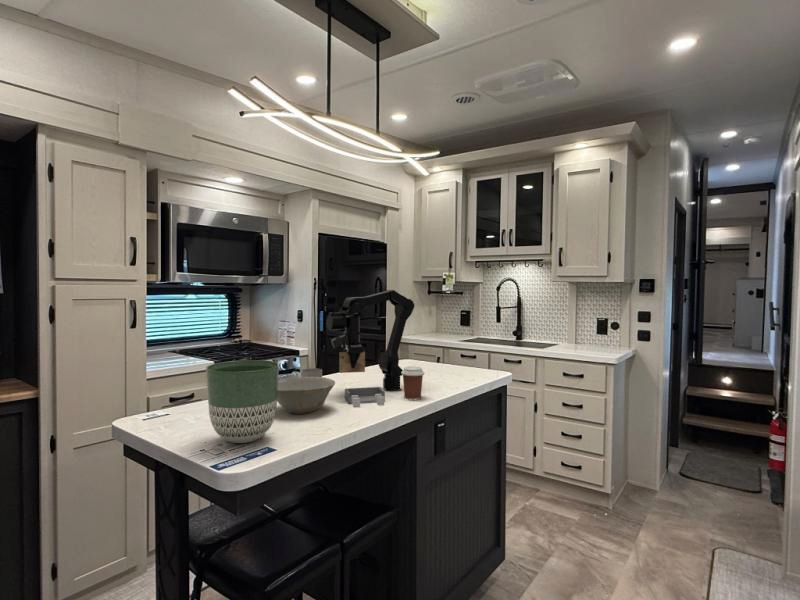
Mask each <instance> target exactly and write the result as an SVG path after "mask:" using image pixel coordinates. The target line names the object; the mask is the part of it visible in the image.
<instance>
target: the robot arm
mask: <svg viewBox="0 0 800 600" xmlns="http://www.w3.org/2000/svg"><path fill="white" fill-rule="evenodd" d="M384 302H389V303H390V304H391V305H393V306H394V310H393V311H394V316H395V317H394V318H395V319H394V322H393V326H392V329H391V333H390V336H389V340H388V343H387V347H386V349H385V351H384V352H382V351H381V352H380V354H379V358H378V360H377V362H378V368H379V369H380V370H381V373H382V374H383V375H384V377H383V378H382V387H383V388H382V389H383V390H384V391H385V392H386V391H388V392H391V391H402V388H401V377H403V375H402V374H401V372H402V371H403V370H404V369H403V368H402V367H401V366H399V363H400V359H399V358H400V357H399V349H400V345H401V342H402V338H403V335H404V331H405V327H406V323H407V320H408V319H409V318H410V316H412V313H413V311H414V309H415V303H414V301H413V300H412V299H411V298H407V297H406V296H405V295H403V294H400V293H398V291H396V290H395V289H387V290H386V291H380V292H378V293H373V294H369V295H366V296H355V297H354V296H353V297H346V298H345V299H344V301H343V304H342V306H341V308H340V309H339V310H338V312H328V316H327V318H326V328H327V330H328V331H335V330H336V331H339V330H344V329H345V330H344V331H343V334H342V335H339V336H337V337H334V338H331V339H330V342H331V345H332V347H333V349H337V348H339V347H340V346H341V348H344V349H343V352H347V353H348V354H349V356H350V363H351V368H354V367H355V365H356V363H357V360H358V358H359V356H360V354H361V353H363V352H365V347H364V346H363V345H362V344H361V341H360V339H361V338H360V337H361V334H362V331H360V329H361V328H360V326H361V325H360V324H361V323H360V320H361V319H362V318H365V317H366V316H365V315H364V314H363V313H362V312H361V311H363V310H365V309H366V308H367V307H369V306H372V305H376V304H379V303H384ZM360 318H361V319H360Z"/></svg>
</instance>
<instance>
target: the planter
mask: <svg viewBox="0 0 800 600" xmlns="http://www.w3.org/2000/svg"><path fill="white" fill-rule="evenodd" d="M279 368H280V365H279V363H278V362H275V361H271V360H263V359H262V360H260V359H257V360H256V359H244V360H231V361H223V362H217V363H212V364H209V365H207V366H206V367H205V374H206V377H205V378H206V389H207V402H208V413H209V419H210V423H211V426H212V428H213V429H214V431H215V433H216V434H217V435H218V436H219V437H220V438H222V439H223V440H224V441H227V442H229V443H231V444H232V443H234V444H246V443H247V444H248V443H252V442H255V441H256V440H259V439H260V438H262V437H263V436H264V435H265V434H266V433H268V432H269V430H270V428H271V427H272V425H273V423H274V422H275V417H276V414H277V413H276V412H277V408H278V405H277V403H278V402H277V392H278V380H279V373H280V372H279V371H280V369H279Z"/></svg>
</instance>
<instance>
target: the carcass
mask: <svg viewBox="0 0 800 600" xmlns="http://www.w3.org/2000/svg"><path fill="white" fill-rule="evenodd" d="M385 393H386V390H385V389H384V388H382V387H381V386H373V387H353V388H352V387H350V388H344V400H345V402H346V403H347V404H348V405H352V407H354V408H355V407H361V404H370V403H371V404H372V403H376V404H377V405H376V406H384V405H385V401H386V399H385V398H386V397H385V396H386V395H385Z"/></svg>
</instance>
